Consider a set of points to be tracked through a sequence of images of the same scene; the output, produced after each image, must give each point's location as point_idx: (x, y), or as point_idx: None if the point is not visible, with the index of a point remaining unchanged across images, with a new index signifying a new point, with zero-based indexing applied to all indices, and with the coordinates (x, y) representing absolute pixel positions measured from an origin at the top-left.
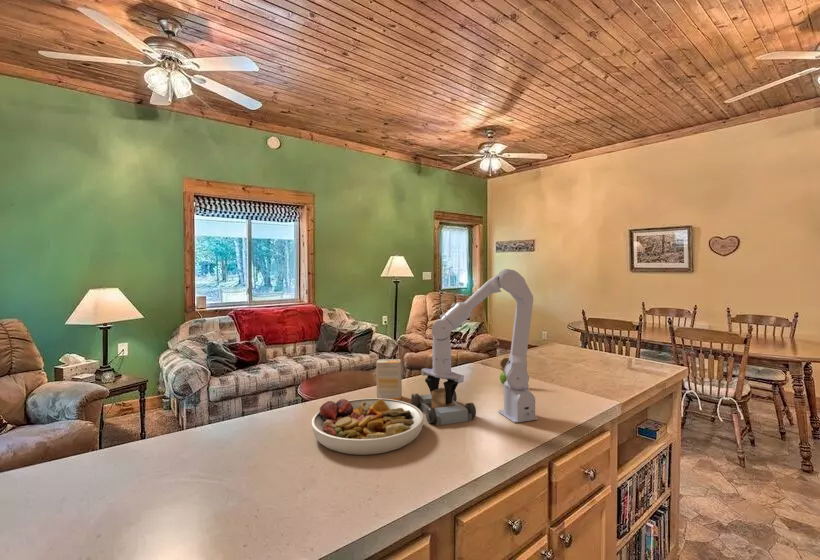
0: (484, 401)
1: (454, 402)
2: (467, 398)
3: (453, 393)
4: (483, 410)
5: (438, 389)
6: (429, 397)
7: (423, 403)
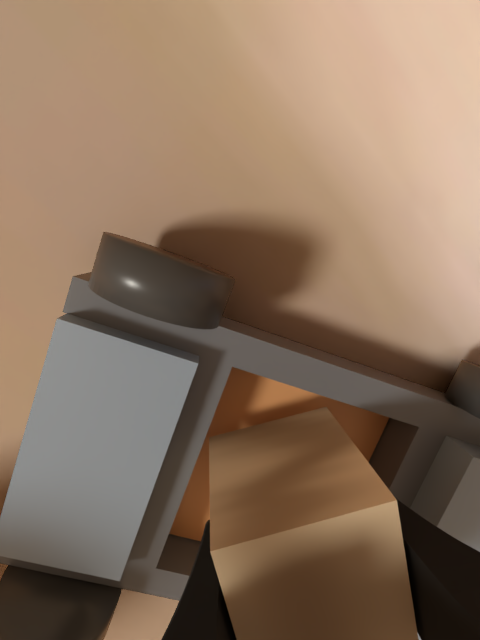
0: (345, 6)
1: (305, 376)
2: (177, 68)
3: (438, 533)
4: (466, 208)
5: (260, 629)
6: (107, 516)
7: (153, 580)
